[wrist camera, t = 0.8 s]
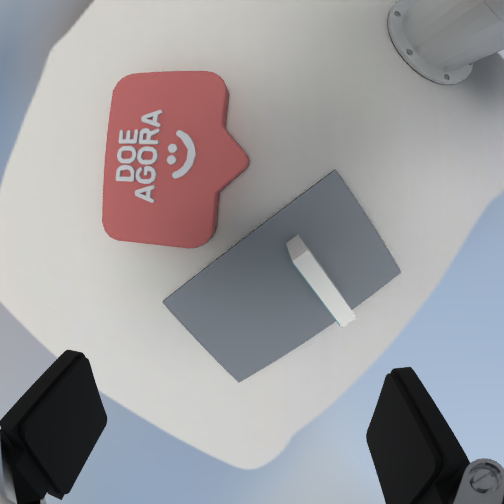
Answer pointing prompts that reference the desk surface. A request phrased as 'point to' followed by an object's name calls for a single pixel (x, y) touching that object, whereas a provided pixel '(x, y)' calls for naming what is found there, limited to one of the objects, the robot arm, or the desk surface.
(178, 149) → the plaque
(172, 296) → the tile mat
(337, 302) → the tile
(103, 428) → the robot arm
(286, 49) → the desk surface
